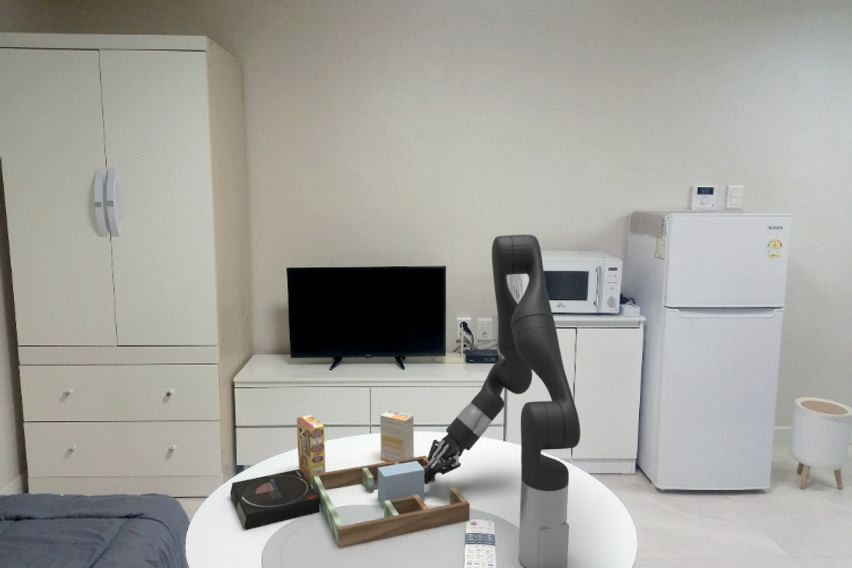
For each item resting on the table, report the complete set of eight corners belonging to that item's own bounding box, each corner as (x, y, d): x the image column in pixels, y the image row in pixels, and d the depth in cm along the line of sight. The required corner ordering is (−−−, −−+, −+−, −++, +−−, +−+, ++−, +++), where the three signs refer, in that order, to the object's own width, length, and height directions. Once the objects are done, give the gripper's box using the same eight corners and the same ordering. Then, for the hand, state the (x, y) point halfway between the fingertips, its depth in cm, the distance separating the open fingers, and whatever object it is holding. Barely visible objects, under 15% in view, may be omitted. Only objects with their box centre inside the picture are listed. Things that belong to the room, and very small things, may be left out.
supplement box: (414, 460, 171) (414, 414, 169) (404, 467, 167) (404, 420, 165) (390, 453, 175) (389, 408, 173) (379, 459, 171) (379, 414, 169)
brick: (424, 500, 149) (424, 469, 148) (384, 508, 145) (384, 476, 144) (416, 491, 154) (416, 460, 152) (378, 498, 150) (377, 467, 149)
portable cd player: (230, 498, 150) (229, 483, 150) (299, 483, 158) (299, 468, 158) (244, 532, 136) (243, 515, 135) (319, 513, 144) (319, 497, 143)
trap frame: (469, 519, 141) (469, 503, 140) (339, 547, 130) (339, 530, 129) (425, 469, 165) (425, 455, 165) (312, 489, 154) (312, 474, 153)
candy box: (326, 482, 158) (325, 425, 155) (310, 487, 155) (309, 428, 153) (312, 469, 165) (311, 414, 163) (297, 473, 163) (295, 417, 160)
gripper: (448, 408, 158) (403, 461, 156) (471, 427, 146) (422, 485, 143) (467, 425, 161) (422, 477, 158) (490, 445, 149) (443, 502, 146)
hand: (422, 481), depth 151 cm, fingers closed
